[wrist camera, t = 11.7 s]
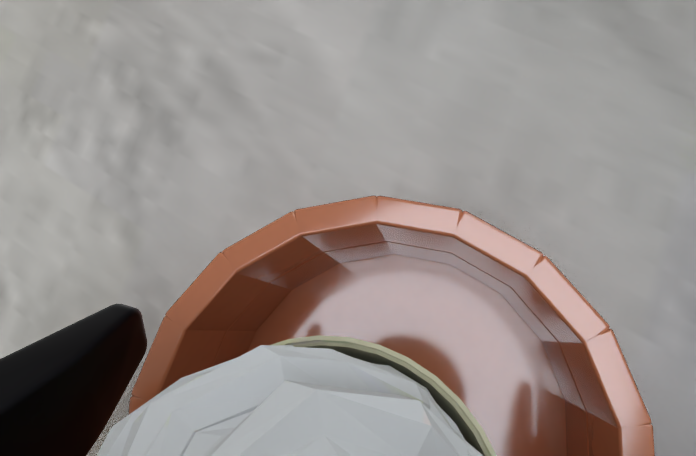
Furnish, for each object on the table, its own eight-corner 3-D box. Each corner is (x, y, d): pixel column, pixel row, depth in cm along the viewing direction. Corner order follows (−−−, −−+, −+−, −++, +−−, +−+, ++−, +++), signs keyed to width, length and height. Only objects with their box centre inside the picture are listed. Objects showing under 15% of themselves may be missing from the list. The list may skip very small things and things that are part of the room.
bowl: (557, 676, 14) (621, 865, 9) (180, 558, 16) (61, 659, 11) (611, 275, 16) (692, 246, 11) (261, 212, 18) (189, 163, 13)
